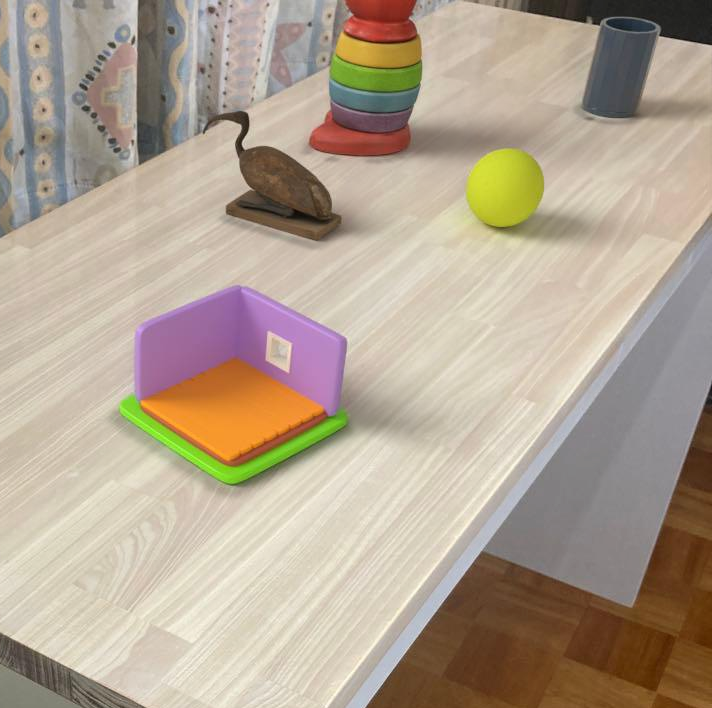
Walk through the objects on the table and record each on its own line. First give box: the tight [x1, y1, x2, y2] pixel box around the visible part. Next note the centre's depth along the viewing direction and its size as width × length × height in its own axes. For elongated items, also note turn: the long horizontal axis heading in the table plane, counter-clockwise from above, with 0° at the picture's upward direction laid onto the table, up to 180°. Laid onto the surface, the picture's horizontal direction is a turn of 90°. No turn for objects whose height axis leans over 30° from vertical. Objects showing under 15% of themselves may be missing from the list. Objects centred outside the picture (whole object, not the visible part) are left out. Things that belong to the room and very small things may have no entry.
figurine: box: [202, 110, 343, 241], centre depth 103 cm, size 14×4×9 cm, turn 56°
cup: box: [580, 16, 662, 119], centre depth 127 cm, size 6×6×9 cm
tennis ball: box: [465, 147, 545, 228], centre depth 103 cm, size 7×7×7 cm
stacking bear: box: [308, 0, 423, 156], centre depth 115 cm, size 11×10×18 cm
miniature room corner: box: [119, 284, 349, 485], centre depth 77 cm, size 12×12×7 cm
